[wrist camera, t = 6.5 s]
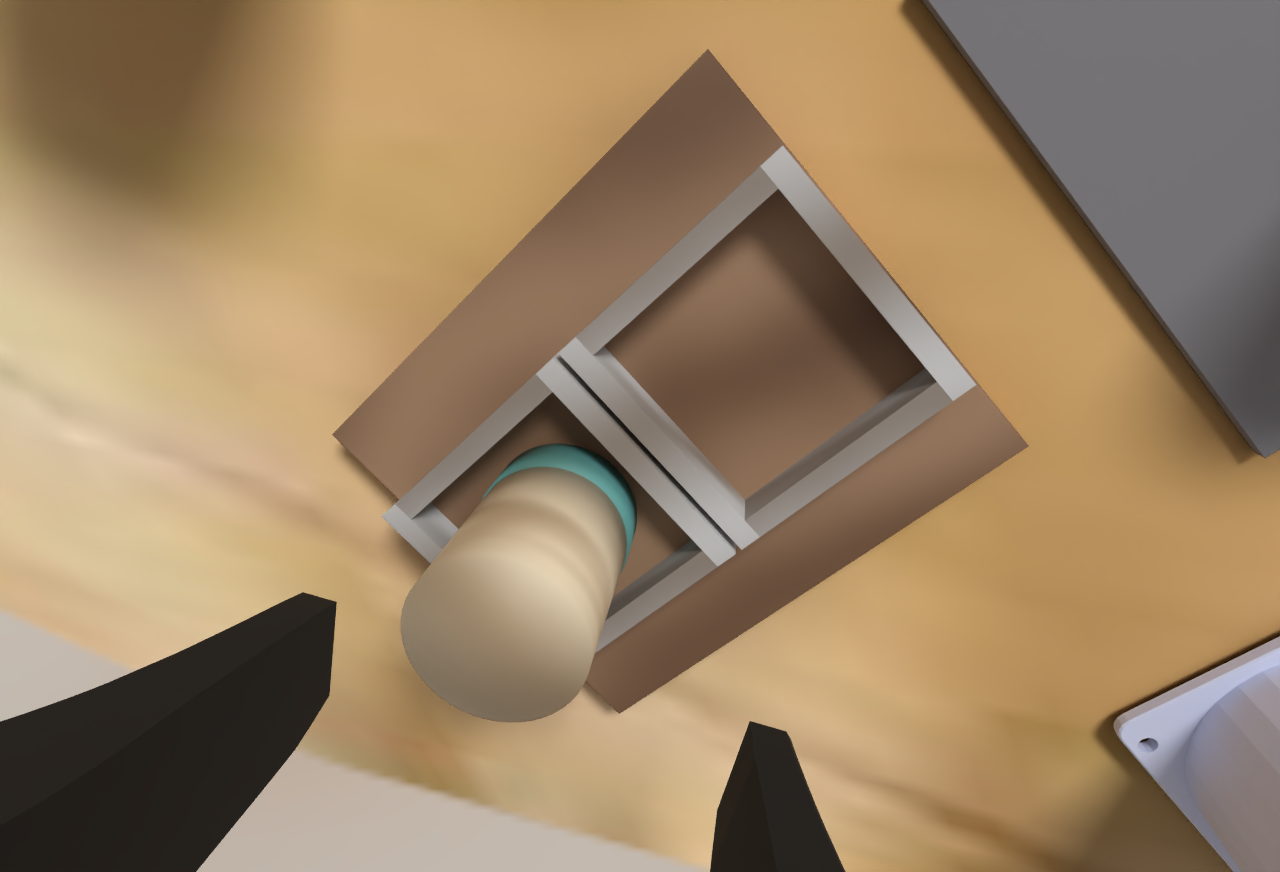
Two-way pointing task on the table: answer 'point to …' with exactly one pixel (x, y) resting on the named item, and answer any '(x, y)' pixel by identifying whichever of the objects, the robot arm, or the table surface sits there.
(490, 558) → the cream teal cylinder
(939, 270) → the table surface
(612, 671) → the brown compartment tray
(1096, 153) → the mat
